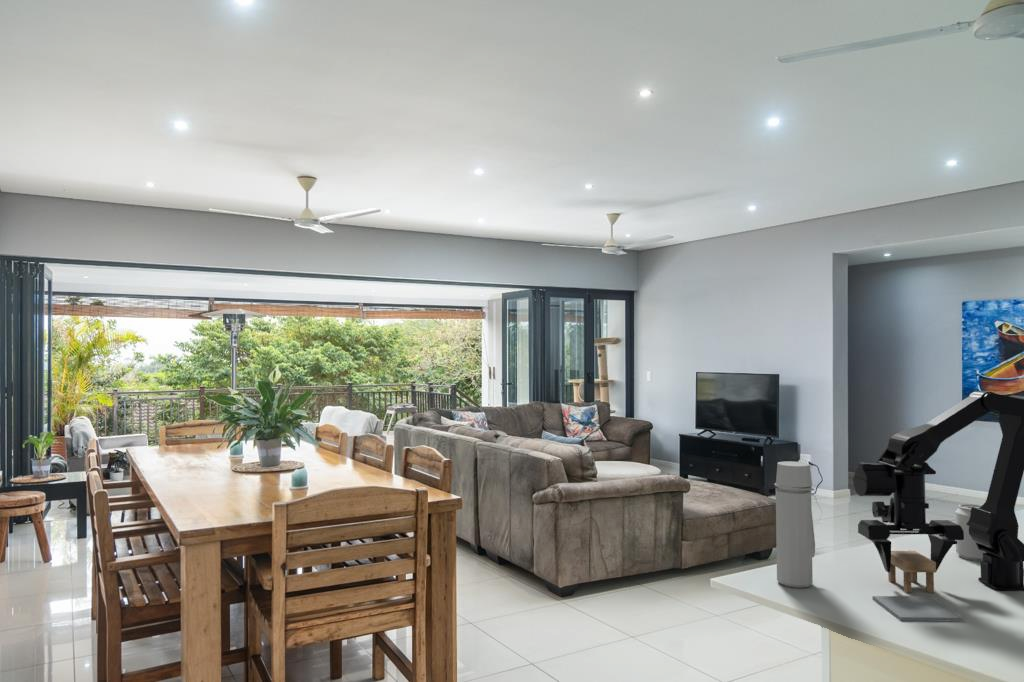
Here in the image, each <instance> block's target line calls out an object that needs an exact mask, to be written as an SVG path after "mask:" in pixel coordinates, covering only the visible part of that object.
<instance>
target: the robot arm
mask: <svg viewBox="0 0 1024 682" xmlns="http://www.w3.org/2000/svg"><path fill="white" fill-rule="evenodd" d="M988 413H992V414H997V415H998V423H999V427H1000V429H1001V433H1002V438H1001V441H1000V446H999V449H998V452H997V458H996V461H995V466H994V470H993V473H992V477H991V481H990V485H989V487H988V488H989V489H988V492H987V496H986V500H985V502H984V503H983V504H981V505H982V506H981V507H980V508H976V507H972V509H971V514H970V519H969V521H968V522H967V524H966V525H968V526H969V535H970V536H971V537H972V539H973V540H974V541H975V542H976V545H977V547H978V549H979V550H982V551H984V552H986V553H983V561H980V577H978V579H977V580H978V582H979V581H980V582H981V583H983V584H985V585H986V586H989V587H990V588H992V589H994V590H998V591H1024V542H1022V541H1021V540H1020V539H1019V538H1018V537H1019V522H1018V518H1017V516H1016V511H1015V507H1016V504H1017V499H1018V495H1019V493H1020V488H1021V483H1022V480H1023V476H1024V395H1017V394H1016V395H1015V394H1013V395H1009V396H1008V395H1004V394H998V393H995V392H993V391H990V390H989V391H988V390H987V391H986V390H975V391H973V392H971V393H970V394H969V395H968V396H967V397H966V398H963V400H961V401H959V402H958V403H956V404H954V405H953V406H952V407H950V408H948V409H946V410H945V411H943V412H942V413H940V414H939V415H937V416H935V417H934V418H933V419H931V420H929V421H927V422H926V423H924V424H921V425H918V426H915V427H911V428H907V429H905V430H903V431H902V430H901V431H899V432H898V433H895V434H893V435H892V436H890V437H889V439H888V443H887V447H886V448H885V450H884V451H883V452H882V453H881V455H880V457H879V458H878V460H877V461H876V462H873V463H872V462H871V463H870V462H863V461H862V462H858V464H857V467H858V468H856V470H855V471H854V475H853V477H852V483H853V487H854V490H855V492H856V494H857V495H858V496H859V497H890V496H892V494H893V497H890V500H889V504H885V502H884V501H872V504H871V506H872V508H871V511H872V516H873V518H881V521H880V520H878V519H861V520H860V521H859V523H858V524H857V534H860V535H861V536H863V537H865V538H866V539H868V540H869V541H871V543H873V545H874V546H875V548H876V550H877V552H878V555H879V557H880V560H881V562H882V566H883V568H884V570H885V572H887V573H888V572H890V568H891V551H892V541H891V540H890V539H889V538H890V536H891V535H928V539H929V542H930V559H931V560H932V561H934V562H936V572H937V571H938V570H939V567H940V566H941V563H942V562H943V560H944V558H945V556H947V553H948V552H949V551H950V549H951V548H952V546H953V545H956V544H957V541H956V540H964V531H963V529H962V527H961V526H960V525H958V524H956V523H955V522H952V520H951V521H950V520H949V519H934V520H933V519H931V520H930V521H929V522H927V521H926V518H927V517H926V509H930V506H929V505H930V504H929V503H928V502H926V475H936V474H937V471H936V470H935V469H933V467H931V466H930V465H929V463H928V462H927V461H928V460H929V459H930V458H931V457H933V455H934V454H935V453H936V452H937V451H938V450H939V447H940V446H941V444H942V443H944V442H945V440H947V439H948V438H951V437H952V436H954V435H955V434H957V433H958V432H960V431H962V430H963V429H964V428H966V427H968V426H969V425H971V424H972V423H974V422H975V421H977V420H979V419H981V418H983V417H985V415H987V414H988ZM887 523H889V524H887ZM936 572H934V573H936Z"/></svg>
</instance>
